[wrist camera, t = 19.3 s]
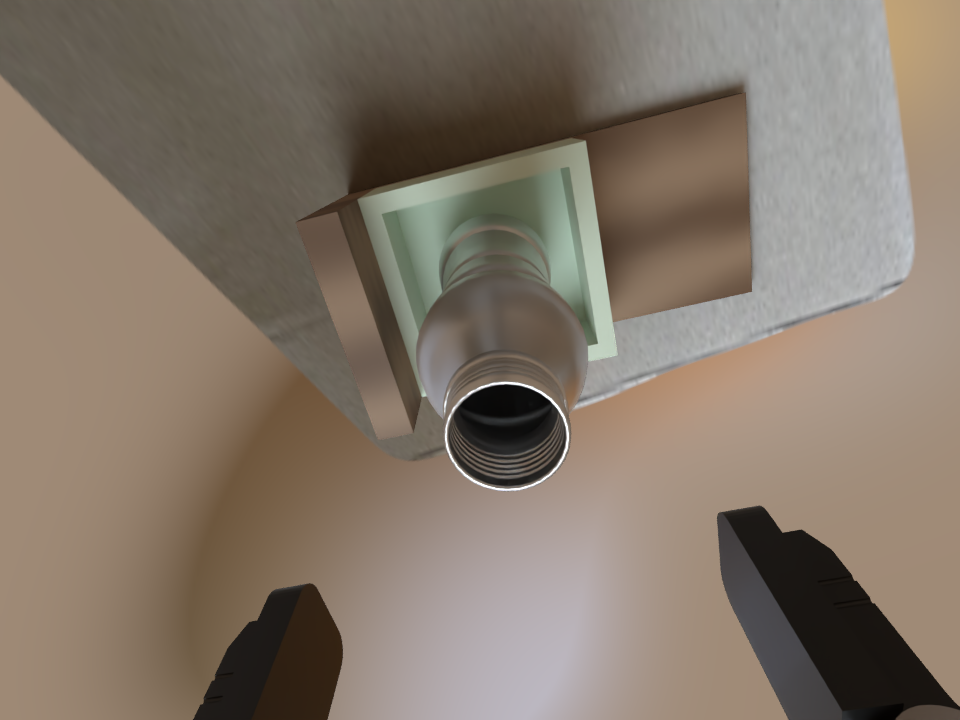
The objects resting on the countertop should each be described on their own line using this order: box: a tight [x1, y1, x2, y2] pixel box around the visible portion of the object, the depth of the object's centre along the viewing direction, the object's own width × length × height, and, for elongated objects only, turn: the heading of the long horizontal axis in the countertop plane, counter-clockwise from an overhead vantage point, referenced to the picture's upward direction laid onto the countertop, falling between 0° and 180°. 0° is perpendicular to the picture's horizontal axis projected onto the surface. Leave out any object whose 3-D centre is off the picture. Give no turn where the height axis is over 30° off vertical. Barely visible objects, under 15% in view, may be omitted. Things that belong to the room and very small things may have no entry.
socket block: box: [357, 138, 617, 397], centre depth 31 cm, size 12×12×5 cm
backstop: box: [296, 93, 752, 440], centre depth 30 cm, size 12×24×10 cm, turn 104°
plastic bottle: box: [416, 214, 588, 491], centre depth 24 cm, size 6×7×20 cm
